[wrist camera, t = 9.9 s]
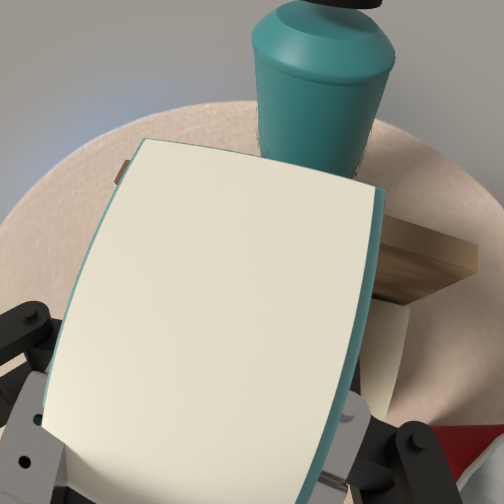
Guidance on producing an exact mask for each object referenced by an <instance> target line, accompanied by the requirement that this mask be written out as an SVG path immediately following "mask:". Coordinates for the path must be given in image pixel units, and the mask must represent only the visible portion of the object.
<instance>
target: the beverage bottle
mask: <svg viewBox="0 0 504 504" xmlns="http://www.w3.org/2000/svg"><path fill="white" fill-rule="evenodd" d="M381 4H382V0H298V1H293V2H289V3H286V4H283V5H282V6H280V7H278V8H277V9H275V10H273V11H272V12H271V13H269V14H268V15H266V16H265V17H264V18H263V19H262V20H260V21H259V22H258V23H257V25H256V26H255V27H254V29H253V32H252V46H253V49H254V56H255V57H254V58H255V71H256V86H257V99H258V106H257V107H258V126H259V140H260V142H259V143H260V152H261V157H264V158H269V159H274V160H278V161H283V162H287V163H291V164H296V165H300V166H304V167H308V168H312V169H316V170H320V171H324V172H328V173H331V174H335V175H339V176H342V177H346V178H350V179H353V176H354V174H355V171H356V169H357V166H358V165H359V161H360V159H361V156H362V155H363V156H364V155H365V154H362V153H365V152H363V151H364V149H365V146H366V143H367V142H368V141H367V140H368V136H369V133H370V130H371V133H372V124H373V122H374V119H375V116H376V113H377V110H378V107H379V104H380V101H381V98H382V95H383V92H384V89H385V86H386V82H387V80H388V76H389V73H390V71H391V70H392V68H393V66H394V63H395V51H394V48H393V46H392V44H391V42H390V41H389V39H388V38H387V36H386V35H385V34H384V33H383V31H382V30H381V29H380V28H379V26H378V25H377V24H376V23H375V22H374V21H373V20H372V19H371V18H370V17H368V16H367V15H365V14H364V13H362V12H360V11H358V10H356V9H372V8H377V7H379V6H380V5H381ZM256 111H257V110H256ZM257 129H258V128H257ZM257 136H258V134H257ZM370 138H371V137H370ZM259 140H258V141H259ZM367 144H368V143H367ZM258 147H259V146H258ZM362 159H363V157H362ZM361 163H362V162H361ZM360 166H361V165H360ZM360 166H359V167H360ZM358 171H359V170H358ZM356 174H357V172H356ZM356 174H355V176H356ZM355 178H356V177H355Z"/></svg>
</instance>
